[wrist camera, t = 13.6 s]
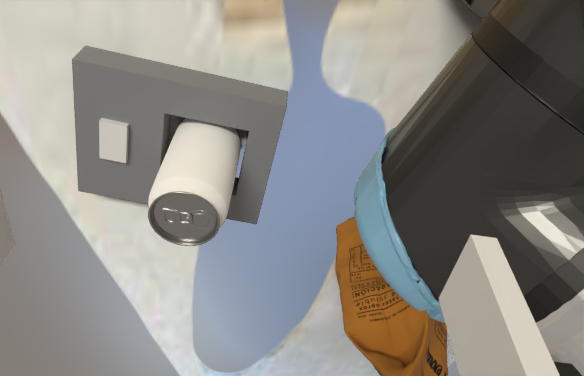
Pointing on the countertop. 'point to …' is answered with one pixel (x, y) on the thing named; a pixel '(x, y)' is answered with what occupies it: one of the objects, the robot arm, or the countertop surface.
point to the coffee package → (385, 315)
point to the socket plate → (165, 124)
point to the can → (194, 183)
